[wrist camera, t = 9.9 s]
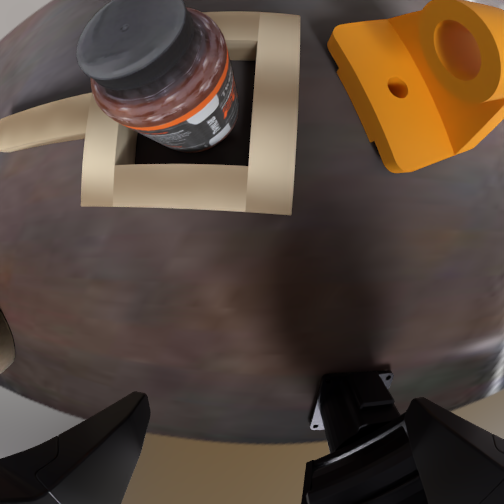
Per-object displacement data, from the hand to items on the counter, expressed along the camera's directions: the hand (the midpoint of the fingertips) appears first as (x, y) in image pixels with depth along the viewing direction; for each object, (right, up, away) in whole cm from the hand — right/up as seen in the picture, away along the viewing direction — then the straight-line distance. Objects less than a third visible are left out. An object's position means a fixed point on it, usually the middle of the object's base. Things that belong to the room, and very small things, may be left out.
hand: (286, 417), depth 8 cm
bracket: (+9, +17, +9) cm, 21 cm away
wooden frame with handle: (-11, +15, +9) cm, 21 cm away
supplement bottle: (-5, +14, +10) cm, 18 cm away
